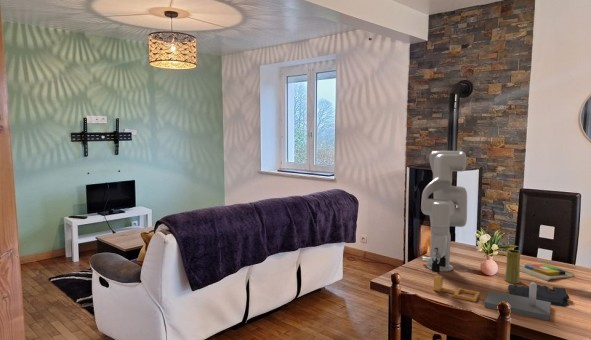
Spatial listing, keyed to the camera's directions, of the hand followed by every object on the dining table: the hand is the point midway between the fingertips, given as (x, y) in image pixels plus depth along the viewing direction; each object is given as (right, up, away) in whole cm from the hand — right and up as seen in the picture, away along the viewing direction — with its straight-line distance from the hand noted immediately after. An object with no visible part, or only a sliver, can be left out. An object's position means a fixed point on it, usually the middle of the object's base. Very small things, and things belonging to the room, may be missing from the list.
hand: (438, 269), depth 178 cm
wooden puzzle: (+60, -8, +23) cm, 65 cm away
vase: (+39, -9, +12) cm, 41 cm away
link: (+6, -10, -2) cm, 12 cm away
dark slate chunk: (+40, -11, -5) cm, 42 cm away
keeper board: (+26, -11, -15) cm, 32 cm away
